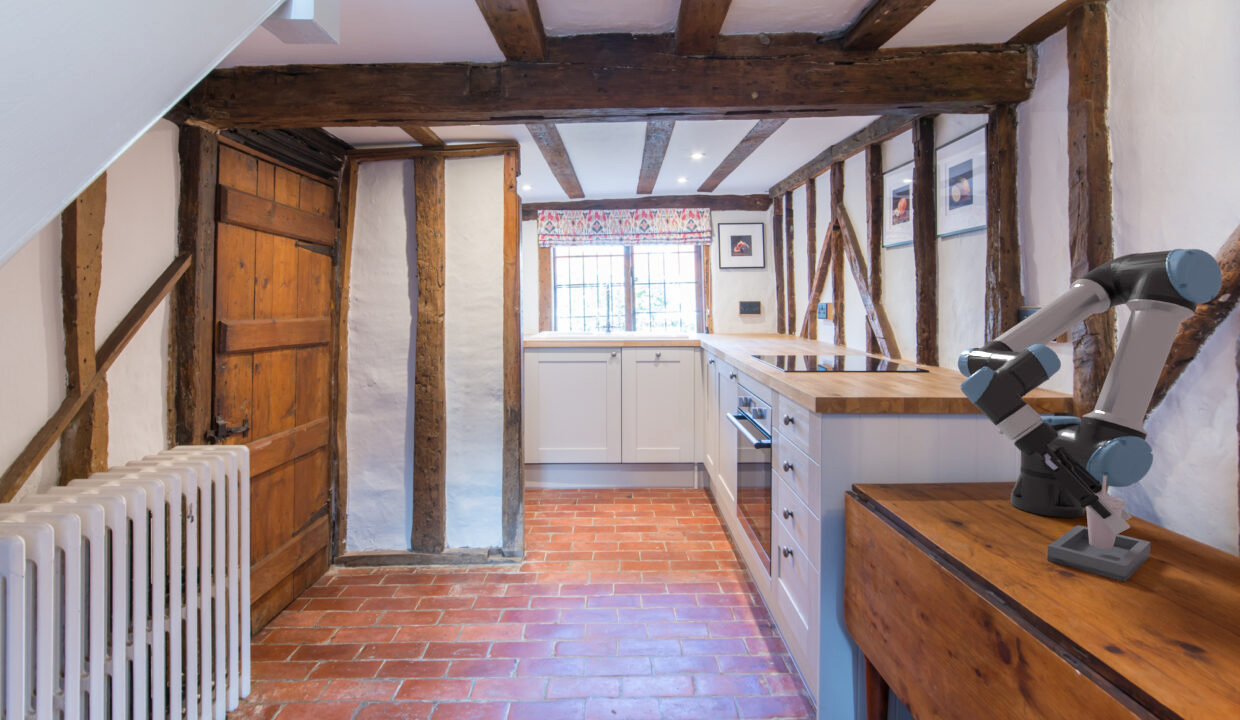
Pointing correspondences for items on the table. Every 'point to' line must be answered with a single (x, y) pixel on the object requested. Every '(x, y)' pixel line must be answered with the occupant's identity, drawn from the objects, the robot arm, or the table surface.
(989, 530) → the table surface
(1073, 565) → the tray
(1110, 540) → the smoothie
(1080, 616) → the table surface
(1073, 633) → the table surface
